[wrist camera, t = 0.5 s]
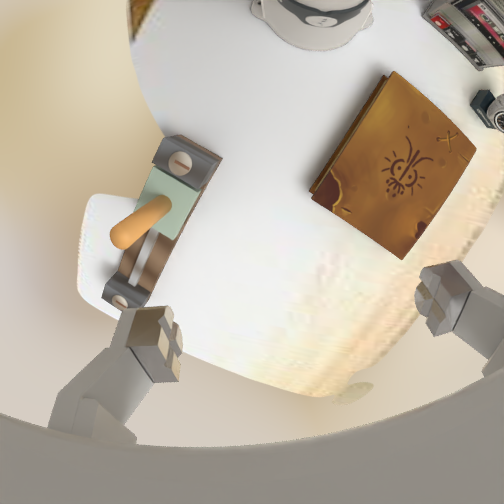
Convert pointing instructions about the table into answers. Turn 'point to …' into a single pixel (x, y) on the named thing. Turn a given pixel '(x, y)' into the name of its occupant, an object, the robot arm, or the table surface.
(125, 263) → the rail
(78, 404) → the robot arm
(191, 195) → the slider with orange handle
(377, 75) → the table surface
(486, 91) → the watch
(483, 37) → the cassette tape recorder
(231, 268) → the table surface
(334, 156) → the diary
